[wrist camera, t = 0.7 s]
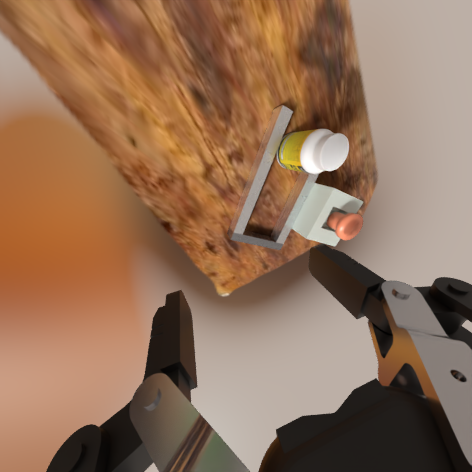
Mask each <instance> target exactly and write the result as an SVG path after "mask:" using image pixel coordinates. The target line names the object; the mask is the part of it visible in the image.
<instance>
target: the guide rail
mask: <svg viewBox="0 0 472 472" xmlns="http://www.w3.org/2000/svg"><path fill="white" fill-rule="evenodd" d="M292 113H293V111H291V110H290V109H288V108H287V107H285V106H284V105H282V106H279V107H277V108H275V109H273V112H272V115H271V117H270V120H269V123H268V125H267V128H266V131H265V133H264V136H263V139H262V141H261V144H260V147H259V149H258V152H257V155H256V158H255V160H254V163H253V166H252V168H251V171H250V174H249V176H248V179H247V182H246V184H245V187H244V190H243V192H242V195H241V198H240V200H239V203H238V206H237V208H236V211H235V214H234V216H233V219H232V222H231V224H230V227H229V230H228V232H227V234H228V236H229V237H230V239H231V240H235V241H240V242H244V243H249V244H254V245H258V246H263V247H268V248H273V249H277V250H281V248H282V246H283V244H284V242H285V240H286V238H287V236H288V234H289V232H290V230H291V228H292V226H293V224H294V222H295V220H296V218H297V216H298V214H299V212H300V210H301V208H302V206H303V204H304V202H305V200H306V199H307V197H308V195H309V193H310V191H311V189H312V187H313V185H314V183H315V181H316V179H317V177H318V175H319V173H318V174H310V173H305V172H300V174H299V176H298V178H297V180H296V182H295V184H294V186H293V189H292V191H291V193H290V195H289V197H288V199H287V201H286V203H285V206H284V208H283V210H282V212H281V214H280V216H279V218H278V220H277V223H276V225H275V227H274V229H273V231H272V233H271V235H270V236H266V235H262V234H258V233H254V232H250V231H246V230H245V228H246V225H247V223H248V220H249V218H250V215H251V213H252V210H253V208H254V206H255V203H256V201H257V198H258V196H259V193H260V191H261V188H262V186H263V184H264V181H265V179H266V176H267V174H268V171H269V169H270V166H271V164H272V162H273V159H274V157H275V154H276V152H277V149H278V147H279V144H280V142H281V140H282V137H283V135H284V132H285V130H286V127H287V125H288V122H289V120H290V118H291V115H292Z"/></svg>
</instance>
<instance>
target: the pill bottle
mask: <svg viewBox="0 0 472 472" xmlns="http://www.w3.org/2000/svg"><path fill="white" fill-rule="evenodd" d="M348 151H349V142H348V139H347V137H346V136H345V135H343V134H341V133H335V134H334V133H333V132H332V131H330V130H328V129H315V130H308V131H300V132H293V133H289V134H287V135H285V136H284V137H283V138H282V140H281V142H280V144H279V147H278V149H277V152H276V155H277V160H278V163H279V164H280V165H281V166H282V167H283V168H286V169H290V170H295V171H300V172H305V173H310V174H318V173H321V172H323V171H333V170H336V169H337V168H339V167H340V166H341V165H342V164H343V163H344V161H345V159H346V157H347V155H348Z"/></svg>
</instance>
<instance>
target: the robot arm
mask: <svg viewBox="0 0 472 472" xmlns="http://www.w3.org/2000/svg"><path fill="white" fill-rule="evenodd" d="M309 270H310V272H311V274H312V276H313V277H315V278H316V279H317V280H318V281H319V282H320V283H321V284H322V285H323V286H324V287H325V288H326V289H327V290H328V291H329V292H330V293H331V294H332V295H333V296H334V297H335V298H336V299H337V300H338V301H339V302H340V303H341V304H342V305H343V306H344V307H345V308H346V309H347V310H348V311H349V312H350V313H351V314H352V315H353V316H354V317H355V318H356V319H359V318H361V317H364V316H366V317H367V318H368V319H369V320H368V326H369V329H370V333H371V337H372V340H373V344H374V348H375V352H376V355H377V359H378V380H379V381H378V380H377V379H374V380H372V381H370V382H368V383H366V384H364V385H362V386H360V387H359V388H356V389H354V390H353V391H352V393H351V394H350V395H349V396H348V398H347V399H346V400H345V401H344V403H343V404H342V405H341V407H340V408H339V409H338V410H337V411H336V412H335V413H331V414H320V415H308V416H302V417H300V418H298V419H296V420H294V421H292V422H290V423H288V424H286V425H284V426H282V427H280V428H278V429H276V434H277V438H276V439H275V440H274V441H273V442H272V443H271V445H270V447H269V448H268V450H267V451H266V453H265V456H264V458H263V460H262V463H261V465H260V468H259V472H472V333H471V332H470V331H468V330H467V329H465V328H464V327H462V324H463V323H464V322H465V321H466V320H469V321H470V322H472V285H471V284H469V283H466V282H464V281H461V280H458V279H454V278H447V277H441V278H437V279H436V280H435V281H434V283H433V285H432V286H431V287H430V286H429V287H412V286H410V285H408V284H406V283H403V282H399V281H386V280H384V279H383V278H381V277H380V276H378V275H377V274H375V273H374V272H372V271H371V270H369V269H367V268H366V267H364V266H363V265H361V264H360V263H358V262H356V261H355V260H354V259H351V257H349V256H348V255H346V254H345V253H343V252H340V251H337V250H335V249H333V250H332V249H331V248H329V247H328V246H326V245H325V244H321V245H318V246H315V247H312V248H311V249H310V256H309ZM196 387H197V376H196V362H195V349H194V336H193V322H192V315H191V310H190V307H189V305H188V303H187V301H186V299H185V296H184V294H183V292H182V291H181V290H179V291H176V292H173V293H170V294H167V295H166V304H165V306H163V307H160V308H158V310H157V312H156V314H155V316H154V317H153V323H152V331H151V339H150V343H149V349H148V357H147V363H146V370H145V375H144V379H143V382H142V384H141V385H140V386H139V387H138V389H137V390H136V392H135V394H134V396H133V398H132V400H131V401H130V402H129V403H128V404H127V405H126V406H125V407H124V408H122V409H121V410H120V411H118V412H117V413H116V414H115V415H113V416H112V417H111V418H110V419H109V420H107V421H106V422H105V423H103V424H102V425H101V426H100V427H98V426H96V425H92V424H91V425H86V426H84V427H82V428H80V429H78V430H77V431H76V432H74V433H73V434H72V435H71V436H70V437H69V438H68V439H67V440H66V441H65V442H64V444H63V445H62V446H61V447H60V449H59V450H58V451H57V453H56V454H55V456H54V457H53V459H52V461H51V463H50V465H49V467H48V469H47V471H46V472H144V471H145V470H146V469H147V468H148V467H149V466H150V465H151V464H152V463H153V462H154V463H155V465H156V467H157V469H158V471H159V472H250V471H249V470H248V469H247V467H246V466H245V465H244V464H243V463H242V462H241V460H240V459H239V458H238V457H237V456H236V455H235V454H234V452H233V451H232V450H231V449H230V448H229V446H228V445H227V444H226V443H225V442H224V441H223V440H222V438H221V437H220V436H219V435H218V434H217V433H216V431H215V430H214V429H213V428H212V427H211V426H210V424H209V423H208V422H207V421H206V420H205V419H204V418H203V417H202V416H201V414H200V413H199V412H198V411H197V410H196V408H194V406H193V405H192V404H191V392H190V390H191V389H194V388H196Z"/></svg>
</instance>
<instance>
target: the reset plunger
mask: <svg viewBox="0 0 472 472" xmlns="http://www.w3.org/2000/svg"><path fill="white" fill-rule="evenodd" d="M362 225H363V218H362V216H360V215H358V214H355V213H348V214H346V215H344V214H342V213H339V212H334V213H332V214H331V215H330V216H329V217H328V219H327V226H328V227H330V228H332V229H334V230H335V233H336V235H337V236H338V237H339V238H341V239H343V240H349V239H352V238H353V237H354V236H356V235H357V234H358V233H359V231H360V230H361V228H362Z"/></svg>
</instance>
